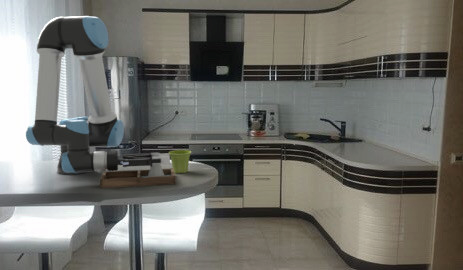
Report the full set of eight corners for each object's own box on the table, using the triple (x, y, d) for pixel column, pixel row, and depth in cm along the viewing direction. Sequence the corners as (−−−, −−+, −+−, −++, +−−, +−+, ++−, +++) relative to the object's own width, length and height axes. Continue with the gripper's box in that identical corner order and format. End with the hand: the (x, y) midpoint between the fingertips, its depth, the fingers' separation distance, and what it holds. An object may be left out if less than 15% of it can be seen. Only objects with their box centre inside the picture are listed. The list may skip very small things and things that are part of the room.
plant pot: (182, 175, 156) (181, 154, 155) (164, 172, 161) (164, 152, 160) (195, 171, 164) (195, 151, 162) (179, 168, 169) (178, 149, 167)
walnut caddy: (104, 179, 150) (103, 171, 149) (173, 175, 156) (172, 168, 155) (100, 188, 136) (99, 180, 136) (175, 183, 142) (175, 176, 142)
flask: (161, 181, 143) (161, 155, 142) (143, 180, 144) (142, 154, 143) (168, 176, 150) (167, 152, 149) (150, 176, 151) (149, 151, 150)
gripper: (109, 165, 152) (168, 163, 157) (104, 176, 134) (171, 173, 139) (108, 147, 151) (167, 145, 156) (103, 155, 133) (170, 152, 138)
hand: (169, 158), depth 147 cm, fingers open, 5 cm apart
